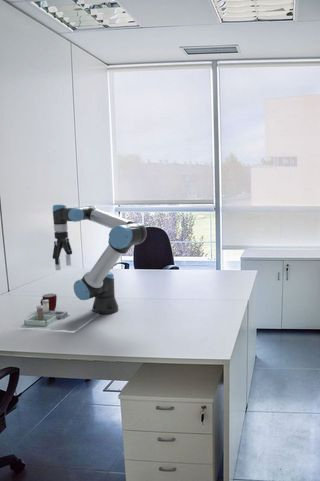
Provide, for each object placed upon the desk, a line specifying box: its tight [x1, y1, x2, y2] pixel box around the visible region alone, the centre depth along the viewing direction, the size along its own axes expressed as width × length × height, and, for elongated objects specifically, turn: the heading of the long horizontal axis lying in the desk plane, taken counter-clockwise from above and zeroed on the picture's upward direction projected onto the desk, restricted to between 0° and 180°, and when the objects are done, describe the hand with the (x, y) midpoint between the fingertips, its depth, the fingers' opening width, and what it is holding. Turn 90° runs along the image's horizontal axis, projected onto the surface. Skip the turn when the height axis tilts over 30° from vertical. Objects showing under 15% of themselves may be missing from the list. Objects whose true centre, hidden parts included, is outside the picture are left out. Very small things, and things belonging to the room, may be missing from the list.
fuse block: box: [43, 310, 71, 320], centre depth 268 cm, size 18×8×3 cm, turn 73°
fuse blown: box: [36, 305, 45, 321], centre depth 258 cm, size 4×4×9 cm
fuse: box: [41, 299, 49, 314], centre depth 269 cm, size 4×4×9 cm
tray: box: [23, 314, 58, 327], centre depth 258 cm, size 14×11×3 cm
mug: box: [40, 293, 58, 311], centre depth 281 cm, size 11×8×10 cm
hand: (63, 267), depth 275 cm, fingers open, 13 cm apart
